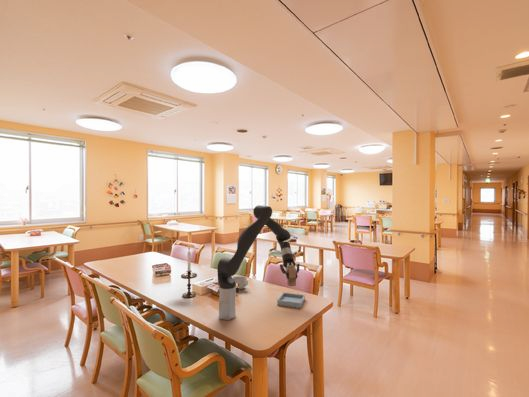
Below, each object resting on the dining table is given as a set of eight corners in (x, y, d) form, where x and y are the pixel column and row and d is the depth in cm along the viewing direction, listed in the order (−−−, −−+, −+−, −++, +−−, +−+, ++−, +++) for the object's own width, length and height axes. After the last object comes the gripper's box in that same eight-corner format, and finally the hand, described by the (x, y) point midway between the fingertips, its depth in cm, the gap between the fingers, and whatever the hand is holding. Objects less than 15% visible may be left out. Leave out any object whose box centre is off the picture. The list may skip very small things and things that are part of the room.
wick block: (295, 285, 171) (295, 266, 171) (289, 286, 170) (289, 266, 170) (293, 283, 175) (293, 264, 175) (287, 283, 175) (287, 264, 174)
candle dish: (300, 308, 163) (300, 303, 163) (277, 304, 168) (277, 300, 168) (305, 299, 177) (305, 294, 177) (283, 296, 182) (283, 292, 182)
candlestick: (192, 299, 178) (192, 247, 177) (177, 297, 180) (177, 246, 180) (199, 293, 188) (199, 244, 188) (185, 292, 190) (185, 243, 190)
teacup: (229, 287, 200) (229, 277, 200) (241, 284, 207) (241, 274, 207) (240, 292, 190) (240, 281, 190) (252, 289, 197) (252, 278, 197)
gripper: (278, 253, 179) (282, 276, 167) (298, 252, 181) (304, 275, 170) (276, 259, 184) (280, 282, 172) (296, 258, 187) (301, 280, 175)
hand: (292, 278), depth 171 cm, fingers closed on wick block, 4 cm apart
